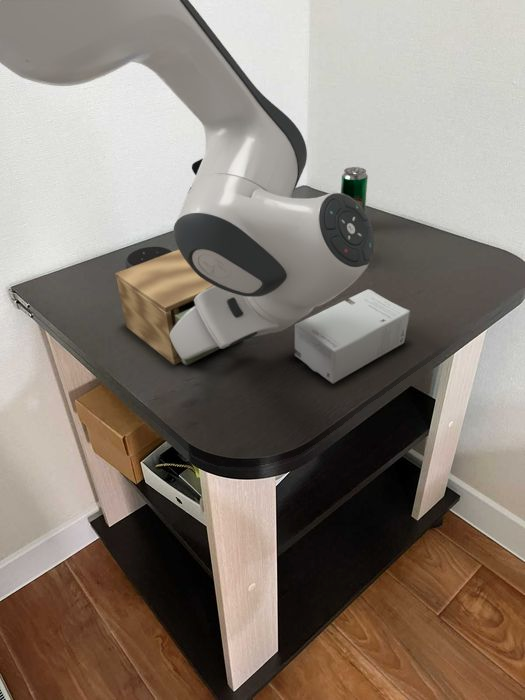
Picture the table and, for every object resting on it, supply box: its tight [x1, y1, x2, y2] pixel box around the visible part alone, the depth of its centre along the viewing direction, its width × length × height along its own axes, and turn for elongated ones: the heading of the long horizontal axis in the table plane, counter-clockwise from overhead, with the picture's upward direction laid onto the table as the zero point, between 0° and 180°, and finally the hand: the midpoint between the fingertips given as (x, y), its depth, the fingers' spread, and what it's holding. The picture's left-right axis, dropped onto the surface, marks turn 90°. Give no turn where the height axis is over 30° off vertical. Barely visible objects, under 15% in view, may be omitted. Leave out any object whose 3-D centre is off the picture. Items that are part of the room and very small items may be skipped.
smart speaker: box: [124, 246, 173, 269], centre depth 99 cm, size 9×9×4 cm
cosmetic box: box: [294, 288, 411, 384], centre depth 77 cm, size 8×6×15 cm
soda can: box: [340, 166, 369, 212], centre depth 111 cm, size 5×5×12 cm
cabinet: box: [114, 249, 213, 366], centre depth 82 cm, size 14×12×10 cm
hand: (224, 329), depth 74 cm, fingers closed on drawer, 5 cm apart
